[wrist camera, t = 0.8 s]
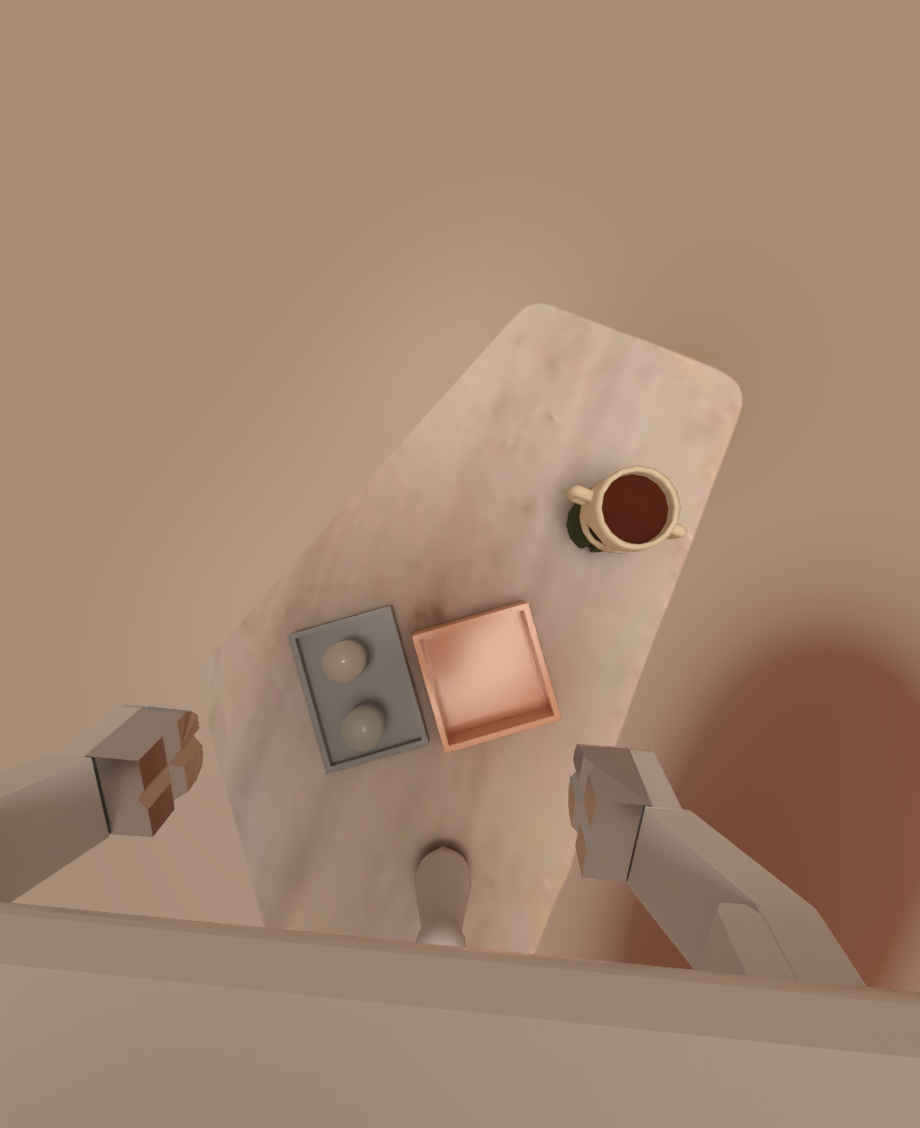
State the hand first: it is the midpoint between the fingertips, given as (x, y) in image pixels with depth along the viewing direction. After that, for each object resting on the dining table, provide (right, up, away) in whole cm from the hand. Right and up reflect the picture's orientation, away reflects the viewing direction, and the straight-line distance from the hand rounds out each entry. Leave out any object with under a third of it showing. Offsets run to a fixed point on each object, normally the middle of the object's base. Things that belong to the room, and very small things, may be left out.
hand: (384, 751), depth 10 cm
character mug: (+16, +8, +43) cm, 46 cm away
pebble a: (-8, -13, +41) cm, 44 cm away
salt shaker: (0, -29, +42) cm, 50 cm away
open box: (+4, -8, +42) cm, 43 cm away
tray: (-9, -9, +42) cm, 44 cm away
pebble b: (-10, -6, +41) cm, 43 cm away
